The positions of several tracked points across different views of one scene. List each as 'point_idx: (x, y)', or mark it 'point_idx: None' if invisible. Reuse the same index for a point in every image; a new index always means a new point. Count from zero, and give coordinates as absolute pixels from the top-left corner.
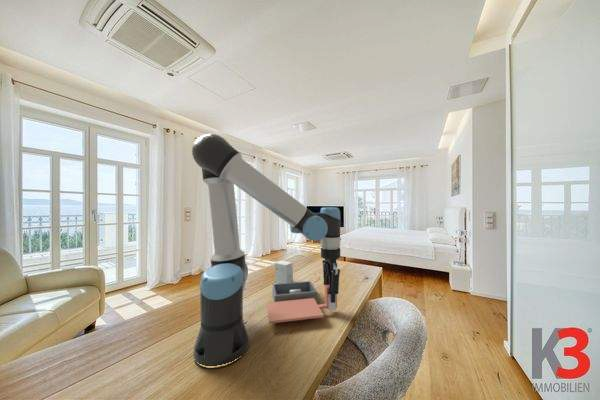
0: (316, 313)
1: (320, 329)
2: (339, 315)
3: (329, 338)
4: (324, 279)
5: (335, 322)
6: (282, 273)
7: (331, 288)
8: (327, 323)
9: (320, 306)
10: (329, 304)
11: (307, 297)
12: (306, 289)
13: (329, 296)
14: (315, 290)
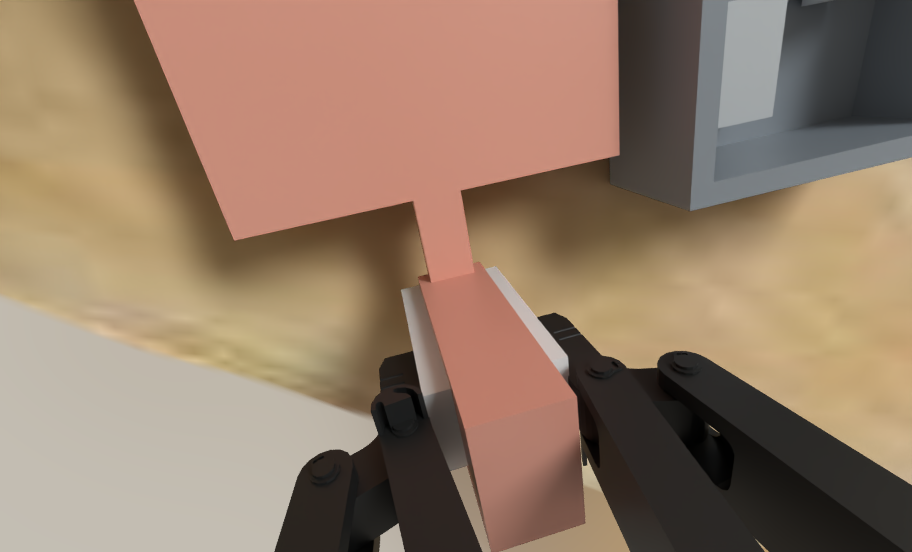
0: (254, 158)
1: (163, 176)
2: (407, 349)
3: (35, 245)
4: (733, 424)
5: (300, 313)
6: None
7: (324, 536)
8: (276, 248)
9: (418, 217)
10: (408, 322)
11: (656, 72)
12: (875, 83)
13: (418, 375)
14: (728, 188)
